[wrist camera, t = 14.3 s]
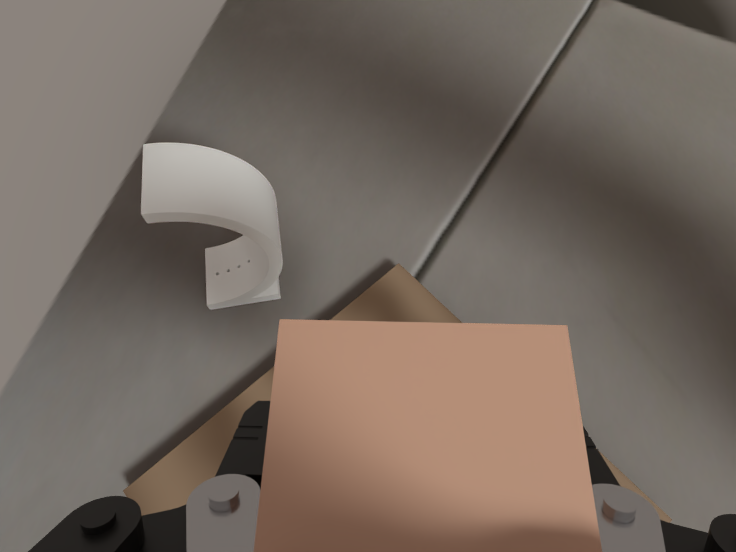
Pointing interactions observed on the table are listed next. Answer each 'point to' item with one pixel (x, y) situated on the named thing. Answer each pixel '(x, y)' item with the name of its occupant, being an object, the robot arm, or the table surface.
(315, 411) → the key block
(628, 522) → the robot arm
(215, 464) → the locating board
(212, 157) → the headphone stand
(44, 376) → the table surface
